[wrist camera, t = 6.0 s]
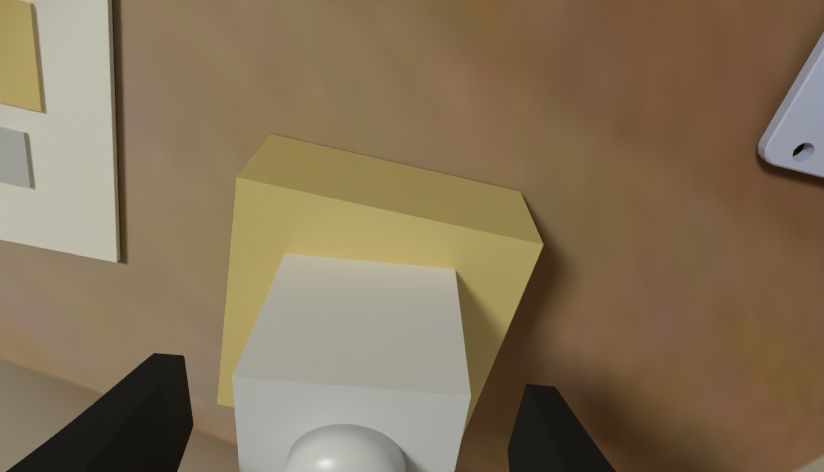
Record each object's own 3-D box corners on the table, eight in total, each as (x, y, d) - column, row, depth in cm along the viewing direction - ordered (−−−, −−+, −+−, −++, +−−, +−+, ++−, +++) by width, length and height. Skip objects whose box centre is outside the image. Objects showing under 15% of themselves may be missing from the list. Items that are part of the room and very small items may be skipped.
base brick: (520, 191, 15) (543, 244, 12) (452, 372, 18) (458, 445, 15) (270, 133, 14) (236, 177, 11) (247, 334, 17) (217, 404, 14)
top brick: (455, 269, 12) (476, 435, 8) (433, 391, 14) (441, 577, 10) (284, 253, 12) (216, 414, 8) (286, 379, 14) (231, 564, 10)
